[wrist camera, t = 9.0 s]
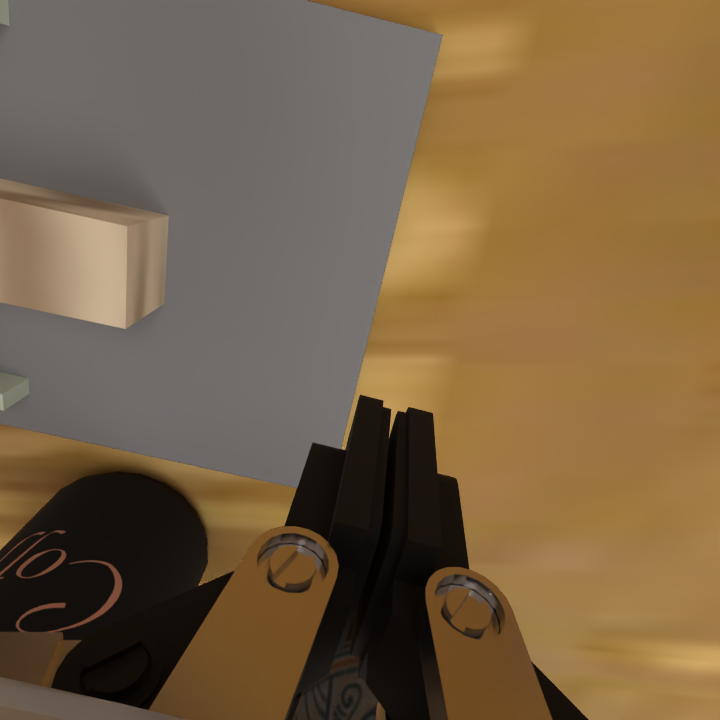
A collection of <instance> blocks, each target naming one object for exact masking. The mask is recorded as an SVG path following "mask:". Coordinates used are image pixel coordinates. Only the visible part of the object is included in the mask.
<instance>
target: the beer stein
mask: <svg viewBox="0 0 720 720" xmlns="http://www.w3.org/2000/svg"><path fill="white" fill-rule="evenodd" d="M353 621H354V617H353V620H352V623H351V626H350V629H349V632H348V635H347V638H346V641H345V644H344V647H343V650H342V652H341V653H339V652H336V653H335V656H334V660H333V663H332V666H331V669H330V672H329V674H328V675H326V676H325V677H323V678H322V679H320V680H319V681H317V682H316V683H314V684H313V685H311V686H310V687H308V688H307V689H305V690H304V691H303V694H302V698H301V701H300V704H299V706H298V709H297V712H296V715H295V718H294V720H376V710H377V704H378V700H377V699H376V697H375V696H374V694H373V693H372V691H371V690H370V689H369V687H368V686H367V684H366V683H365V682H366V680H364V679H360V678H357V677H358V668H359V657H355V656H351V655H350V645H351V637H352V629H353Z"/></svg>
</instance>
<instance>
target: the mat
mask: <svg viewBox="0 0 720 720" xmlns="http://www.w3.org/2000/svg"><path fill="white" fill-rule="evenodd" d="M442 36H443V35H441V34H437V33H433V32H429V31H425V30H421V29H417V28H413V27H409V26H406V25H402V24H398V23H394V22H390V21H386V20H382V19H378V18H374V17H370V16H366V15H362V14H358V13H354V12H350V11H346V10H342V9H339V8H335V7H331V6H327V5H323V4H319V3H315V2H311V1H307V0H0V178H1V179H6V180H10V181H15V182H19V183H24V184H28V185H33V186H37V187H42V188H46V189H51V190H55V191H60V192H65V193H69V194H74V195H78V196H83V197H87V198H92V199H96V200H101V201H105V202H110V203H114V204H119V205H123V206H128V207H132V208H137V209H141V210H146V211H150V212H155V213H160V214H164V215H169V221H168V241H167V261H166V280H165V300H164V304H163V305H162V306H160V307H159V308H157V309H156V310H154V311H152V312H151V313H149V314H148V315H146V316H145V317H143V318H142V319H140V320H139V321H137V322H136V323H134V324H132V325H131V326H129V327H128V328H126V329H123V328H119V327H114V326H109V325H105V324H100V323H95V322H91V321H86V320H81V319H76V318H72V317H67V316H62V315H58V314H53V313H48V312H44V311H39V310H34V309H30V308H25V307H20V306H15V305H11V304H6V303H1V302H0V424H3V425H8V426H13V427H17V428H22V429H27V430H31V431H36V432H40V433H45V434H50V435H54V436H59V437H63V438H68V439H73V440H77V441H82V442H87V443H91V444H96V445H100V446H105V447H110V448H114V449H119V450H123V451H128V452H133V453H137V454H142V455H147V456H151V457H156V458H160V459H165V460H170V461H174V462H179V463H184V464H188V465H193V466H197V467H202V468H207V469H211V470H216V471H220V472H225V473H230V474H234V475H239V476H244V477H248V478H253V479H257V480H262V481H267V482H271V483H276V484H280V485H285V486H290V487H294V488H297V487H298V484H299V481H300V478H301V475H302V472H303V469H304V466H305V463H306V460H307V457H308V454H309V451H310V448H311V446H312V443H313V442H314V443H318V444H322V445H326V446H330V447H334V448H338V449H341V447H342V442H343V438H344V434H345V430H346V426H347V422H348V418H349V414H350V410H351V406H352V402H353V398H354V394H355V390H356V386H357V381H358V377H359V373H360V369H361V365H362V361H363V357H364V353H365V349H366V345H367V341H368V337H369V333H370V329H371V324H372V320H373V316H374V312H375V308H376V304H377V300H378V296H379V292H380V288H381V284H382V280H383V276H384V272H385V268H386V263H387V259H388V255H389V251H390V247H391V243H392V239H393V235H394V231H395V227H396V223H397V219H398V215H399V211H400V206H401V202H402V198H403V194H404V190H405V186H406V182H407V178H408V174H409V170H410V166H411V162H412V158H413V154H414V150H415V145H416V141H417V137H418V133H419V129H420V125H421V121H422V117H423V113H424V109H425V105H426V101H427V97H428V93H429V88H430V84H431V80H432V76H433V72H434V68H435V64H436V60H437V56H438V52H439V48H440V44H441V40H442Z"/></svg>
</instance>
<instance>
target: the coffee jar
mask: <svg viewBox="0 0 720 720" xmlns="http://www.w3.org/2000/svg"><path fill="white" fill-rule="evenodd" d="M207 564H208V555H207V537H206V535H205V533H204V529H203V526H202V524H201V522H200V519H199V517H198V514H197V512H196V511H195V510H194V509H193V507H192V506H191V505H190V504H189V503H188V502H187V500H186V499H185V498H184V497H183V496H182V495H181V494H179V493H178V492H176V491H175V490H173V489H172V488H171V487H169V486H168V485H166V484H165V483H163V482H160V481H158V480H155V479H152V478H150V477H147V476H144V475H142V474H133V473H125V472H114V473H106V474H100V475H94V476H87V477H84V478H81V479H79V480H77V481H76V482H74V483H72V484H70V485H68V486H66V487H64V488H62V489H61V490H60V491H59V492H58V493H57V494H56V495H55V496H54V497H53V498H52V499H51V500H50V501H49V502H48V503H47V504H46V505H45V506H44V507H43V508H42V509H41V510H40V511H39V512H38V513H37V514H36V515H35V516H34V517H33V518H32V519H31V520H30V521H29V522H28V523H27V524H26V525H25V526H24V527H23V528H22V529H21V530H20V531H19V532H18V533H17V534H16V535H15V536H14V537H13V538H12V539H11V540H10V541H9V542H8V543H7V544H6V545H5V546H4V547H3V548H2V549H1V550H0V632H63V640H82V639H84V638H85V637H87V636H89V635H90V634H92V633H94V632H96V631H97V630H99V629H101V628H103V627H105V626H108V625H110V624H112V623H115V622H117V621H119V620H122V619H124V618H126V617H129V616H131V615H133V614H136V613H138V612H140V611H142V610H145V609H147V608H149V607H152V606H154V605H156V604H159V603H161V602H163V601H166V600H168V599H170V598H173V597H175V596H177V595H179V594H182V593H184V592H186V591H189V590H191V589H193V588H196V587H198V585H199V582H200V580H201V578H202V575H203V573H204V571H205V568H206V566H207Z"/></svg>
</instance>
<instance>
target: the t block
mask: <svg viewBox="0 0 720 720" xmlns="http://www.w3.org/2000/svg"><path fill="white" fill-rule="evenodd" d="M168 221H169V215H164V214H160V213H155V212H150V211H146V210H141V209H137V208H132V207H128V206H123V205H119V204H114V203H110V202H105V201H101V200H96V199H92V198H87V197H83V196H78V195H74V194H69V193H65V192H60V191H55V190H51V189H46V188H42V187H37V186H33V185H28V184H24V183H19V182H15V181H10V180H6V179H1V178H0V302H1V303H6V304H11V305H15V306H20V307H25V308H30V309H34V310H39V311H44V312H48V313H53V314H58V315H62V316H67V317H72V318H76V319H81V320H86V321H91V322H95V323H100V324H105V325H109V326H114V327H119V328H123V329H126V328H128V327H129V326H131V325H132V324H134V323H136V322H137V321H139V320H140V319H142V318H143V317H145V316H146V315H148V314H149V313H151V312H152V311H154V310H156V309H157V308H159V307H160V306H162V305H163V304H164V300H165V280H166V261H167V241H168Z"/></svg>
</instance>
